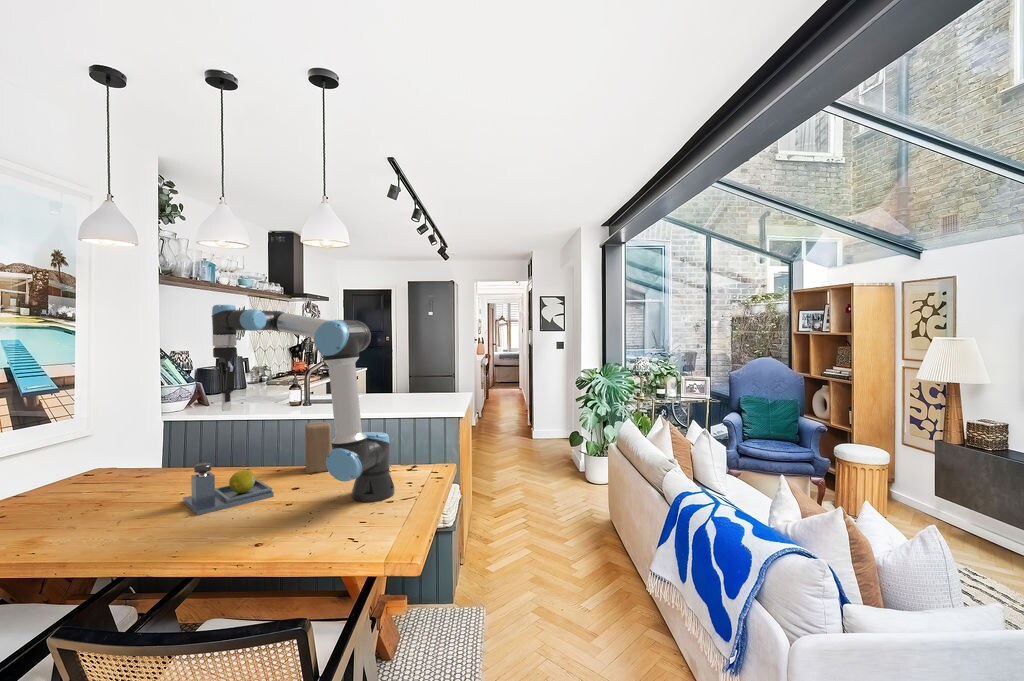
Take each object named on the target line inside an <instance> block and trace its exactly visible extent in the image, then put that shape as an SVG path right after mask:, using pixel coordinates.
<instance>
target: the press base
mask: <svg viewBox="0 0 1024 681" xmlns="http://www.w3.org/2000/svg"><path fill="white" fill-rule="evenodd" d="M190 476H191V478H190V479H191V482H190V484H191V495H189V496H185V497H182V503H184V504H185V505H186V506H187V507H188V508H189V510H191V511H192V512H193V513H194V514H195V515H196V516H201V515H206V514H208V513H213V512H216V511H221V510H224V509H229V508H232V507H233V508H234V507H236V506H241V505H244V504H245V505H246V504H249V503H253V502H256V501H261V500H265V499H268V498H269V499H270V498H272V497H274V495H275V494H274V491H273V487H271V486H270V485H268V484H266V483H264V482H263V481H261V480H259V479H258V478H257V479H256V478H255V483H254V485H253V487H252V488H251V489H250V490H249V491H247V492H245V493H236V492H234V491H232V490H231V488H230V486H229V485H224V486H220V487H215V486H216V481H215V479H216V478H215V474H213V473H212V472H211V471H207V476H204V477H199V473H196V474H192V475H190Z"/></svg>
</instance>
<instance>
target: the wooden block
mask: <svg viewBox="0 0 1024 681" xmlns="http://www.w3.org/2000/svg"><path fill="white" fill-rule="evenodd" d="M304 426H305V427H304V429H305V430H304V431H305V432H304V435H305V438H304V440H305V473H307V474H314V473H315V472H316V473H323V472H329V471H328V469H327V466H326V458H327V456H328V455H329V453H330V451H332V444H331V441H332V426H331V424H330V421H318V422H316V421H315V422H307V423H305V425H304Z"/></svg>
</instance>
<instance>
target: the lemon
mask: <svg viewBox="0 0 1024 681" xmlns="http://www.w3.org/2000/svg"><path fill="white" fill-rule="evenodd" d="M255 480H256V475H255V473H254V472H253V471H251V470H249V469H241V470H239V471H236V472H235V473H234V474H232V475H231V477H230V479H229V483H228V484H229V485H228V486H230V488H231V490H232V491H234V492H236V493H245V492H247V491H249V490H250V489H251V488H252V487H253V485H254V483H255Z"/></svg>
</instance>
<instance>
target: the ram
mask: <svg viewBox="0 0 1024 681" xmlns="http://www.w3.org/2000/svg"><path fill="white" fill-rule="evenodd" d="M211 471H212V463H211V462H201V463H197V464H196V463H195V464H194V465H193V472H194V473H196V474H199V477H204V476H207V472H211Z"/></svg>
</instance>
